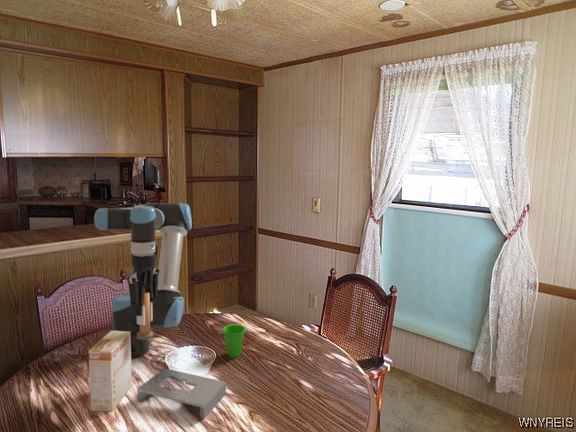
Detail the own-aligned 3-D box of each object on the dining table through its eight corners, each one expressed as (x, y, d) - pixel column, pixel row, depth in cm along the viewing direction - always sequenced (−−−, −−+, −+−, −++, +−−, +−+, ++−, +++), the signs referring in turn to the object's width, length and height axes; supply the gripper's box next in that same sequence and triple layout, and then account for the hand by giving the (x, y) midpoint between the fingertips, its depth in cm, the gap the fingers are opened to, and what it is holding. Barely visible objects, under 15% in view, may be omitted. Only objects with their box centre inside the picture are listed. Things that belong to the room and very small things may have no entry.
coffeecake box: (112, 384, 138) (110, 330, 136) (132, 385, 138) (131, 330, 136) (89, 411, 124) (87, 350, 121) (112, 412, 123) (110, 351, 121)
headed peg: (133, 338, 135) (132, 294, 133) (143, 332, 140) (143, 290, 138) (146, 341, 133) (145, 296, 131) (156, 334, 138) (155, 292, 136)
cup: (247, 350, 166) (247, 324, 165) (242, 361, 157) (243, 334, 156) (225, 348, 167) (225, 323, 166) (219, 359, 158) (220, 332, 157)
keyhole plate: (137, 401, 129) (137, 388, 128) (164, 379, 142) (164, 368, 142) (203, 419, 121) (203, 405, 121) (225, 394, 134) (225, 382, 134)
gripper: (136, 260, 124) (137, 333, 127) (168, 250, 139) (169, 315, 142) (116, 257, 126) (118, 329, 129) (150, 247, 141) (151, 312, 144)
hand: (144, 322), depth 136 cm, fingers closed on headed peg, 3 cm apart
